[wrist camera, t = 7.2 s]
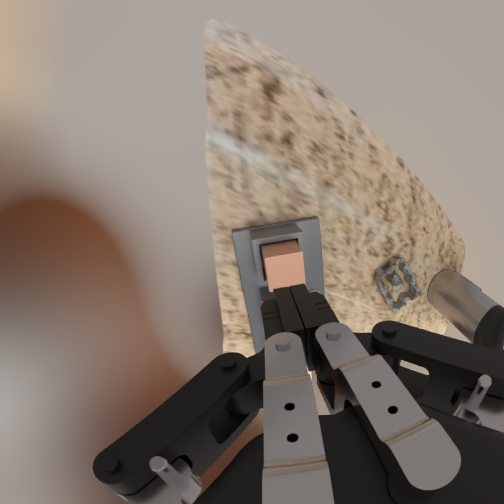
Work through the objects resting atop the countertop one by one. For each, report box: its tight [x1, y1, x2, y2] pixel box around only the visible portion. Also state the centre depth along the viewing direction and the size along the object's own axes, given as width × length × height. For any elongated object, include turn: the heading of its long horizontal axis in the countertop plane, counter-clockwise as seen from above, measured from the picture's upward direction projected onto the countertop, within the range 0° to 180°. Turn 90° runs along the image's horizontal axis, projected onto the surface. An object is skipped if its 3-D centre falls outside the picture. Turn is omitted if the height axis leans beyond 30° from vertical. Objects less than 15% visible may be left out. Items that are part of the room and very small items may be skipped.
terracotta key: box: [261, 239, 306, 292], centre depth 39 cm, size 5×5×6 cm
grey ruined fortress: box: [374, 257, 421, 312], centre depth 48 cm, size 11×8×4 cm
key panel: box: [232, 217, 324, 354], centre depth 47 cm, size 14×28×6 cm, turn 9°
